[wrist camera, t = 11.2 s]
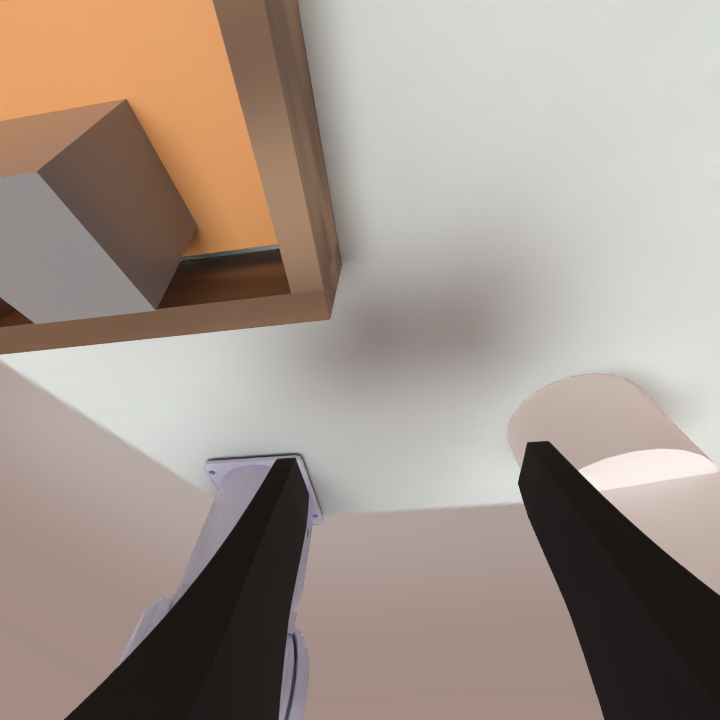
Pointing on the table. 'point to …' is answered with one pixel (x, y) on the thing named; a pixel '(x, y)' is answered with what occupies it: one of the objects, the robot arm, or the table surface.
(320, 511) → the robot arm
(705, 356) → the table surface
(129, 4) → the orange flap
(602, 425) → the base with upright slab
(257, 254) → the wooden box
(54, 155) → the gray block
